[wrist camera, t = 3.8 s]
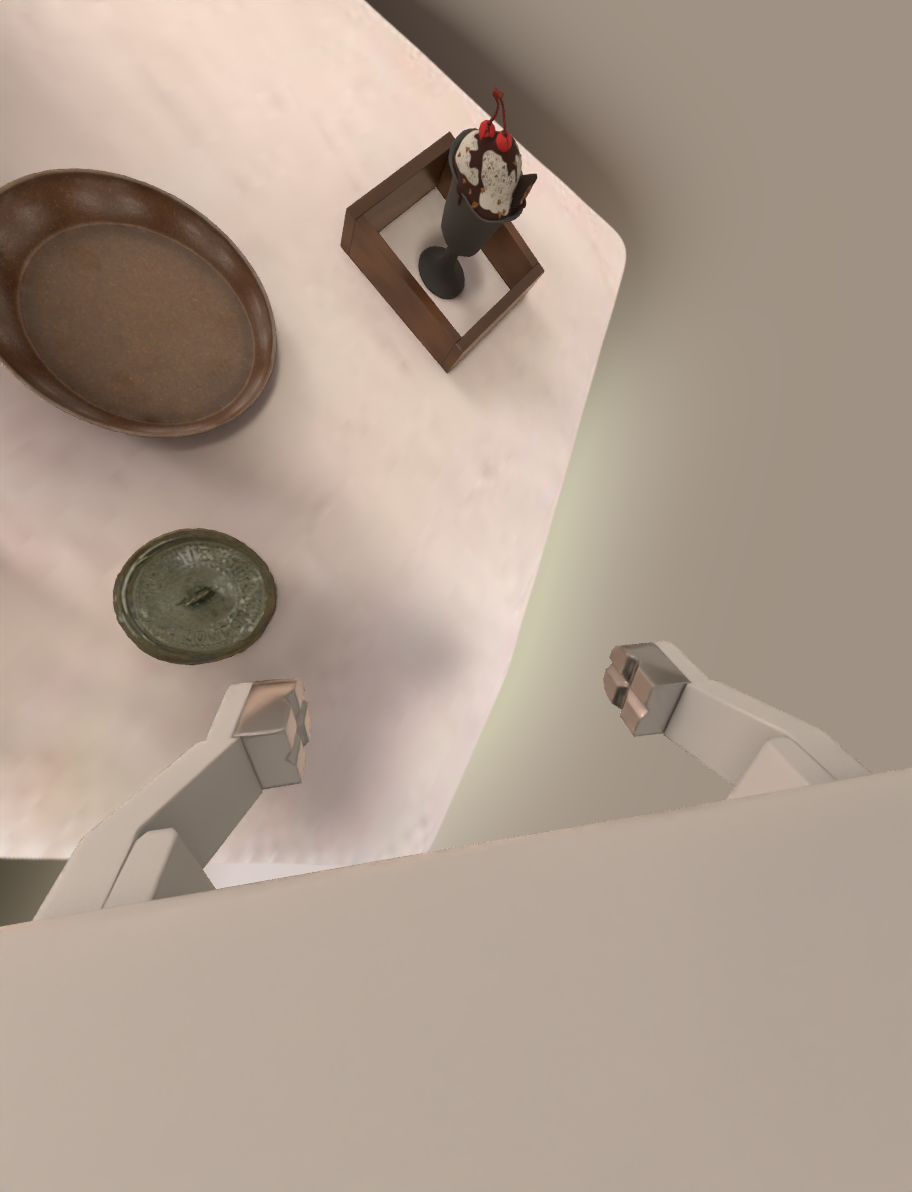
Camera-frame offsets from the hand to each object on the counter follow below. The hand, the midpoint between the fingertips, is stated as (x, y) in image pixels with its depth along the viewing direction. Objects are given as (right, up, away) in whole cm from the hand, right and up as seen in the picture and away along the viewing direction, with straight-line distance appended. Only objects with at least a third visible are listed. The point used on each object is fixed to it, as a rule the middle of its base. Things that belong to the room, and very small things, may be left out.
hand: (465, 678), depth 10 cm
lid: (-21, +2, +22) cm, 30 cm away
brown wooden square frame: (-2, +35, +29) cm, 45 cm away
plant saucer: (-24, +22, +20) cm, 38 cm away
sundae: (-2, +35, +30) cm, 46 cm away
